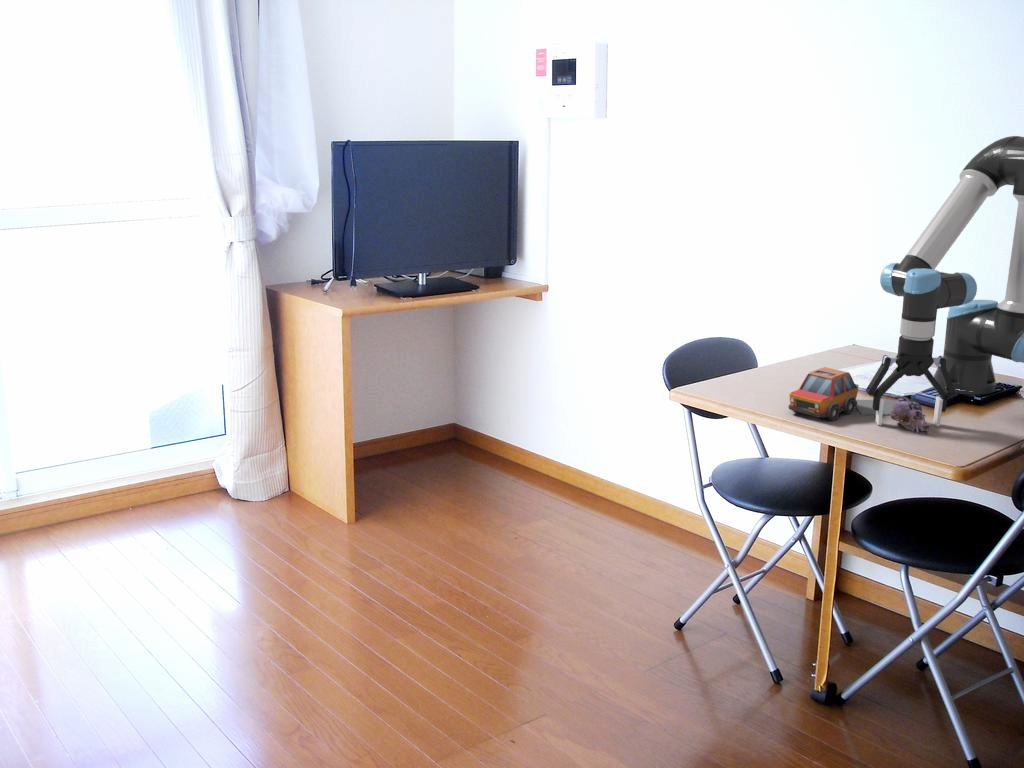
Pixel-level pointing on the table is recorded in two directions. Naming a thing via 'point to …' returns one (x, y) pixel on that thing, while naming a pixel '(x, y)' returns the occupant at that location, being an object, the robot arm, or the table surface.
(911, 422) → the skull
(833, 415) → the toy car
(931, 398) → the table surface
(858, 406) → the chock mat
